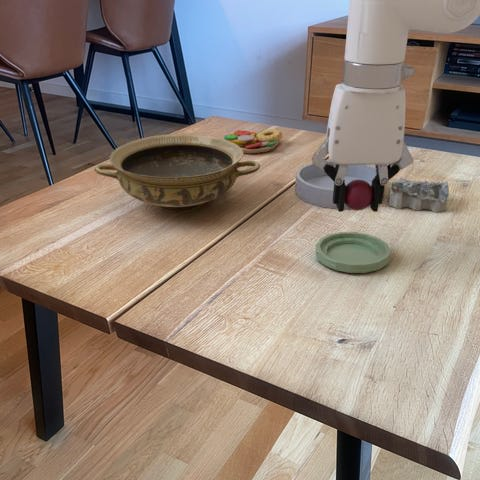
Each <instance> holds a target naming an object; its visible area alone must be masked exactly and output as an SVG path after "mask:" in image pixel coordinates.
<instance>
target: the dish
mask: <svg viewBox="0 0 480 480" xmlns="http://www.w3.org/2000/svg"><path fill="white" fill-rule="evenodd" d="M327 161H328V162H330V163H331V164H332V165H333V166H334V167H335V163H333V162H331V161H330V160H327ZM375 176H376V168H375V165H349V166H348V169H347V172H346V175H345V178H344V180H345V185H347V184H348V183H350V182H351V181H353V180H364V181H366V182H368V183H369V184H370V185H371V184H372V180H373V178H375ZM386 187H387V184H386V185H385V187H384V194H383V199H384V198H385V193H386ZM294 188H295V194H296V195H297V197H298V198H299V199H301V200H302V201H304V202H306V203H308V204H312V205H314V206H318V207H322V208H326V209H327V208H328V209H337V210H338V208H337V206H336V204H333V190H334V181H333V180H332V179H331V178H330V177H329V176H328V175H327V174H326V173H325V172H324V171H323V170H321V169H320V168H319V167H317V166H316V165H314V164H313V162H310V163H307V164H304V165H302V166H301V167H299V168H298V169H297V170H296V173H295V187H294ZM368 207H370V205H369V206H368ZM344 210H351V209H350V208H349V207H347V206H346V204H344Z"/></svg>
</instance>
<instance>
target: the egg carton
mask: <svg viewBox="0 0 480 480" xmlns="http://www.w3.org/2000/svg"><path fill="white" fill-rule="evenodd" d="M388 194H389V197H388V198H389V201H388V206H389V207H393V208H394V209H398V210H400V209H403V208H410V209H412V210H413V211H421V210H430V211H431V212H433V213H440V212H441V211H445V210H446V208H447V203H448V201H449V200H450V187H449V182H448V181H442V182H439V181H438V182H434V181H431V182H428V181H427V180H422V181H419V180H413V181H412V180H409V179H406V178H398V179H394V180H393V181H391V182H390V188H389V190H388Z"/></svg>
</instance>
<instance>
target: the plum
mask: <svg viewBox="0 0 480 480" xmlns="http://www.w3.org/2000/svg"><path fill="white" fill-rule="evenodd" d="M372 199H373V189H372V187H371V185H370V184H369V183H368V182H366V181H364V180H353V181H351V182H350V183H348V184H347V185H346V195H345V204H346V206H347V207H349V208H350V209H349V210H352V211H363V210H364V209H366V208H368V207H370V206H369V205H370V203H371V202H372Z"/></svg>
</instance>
